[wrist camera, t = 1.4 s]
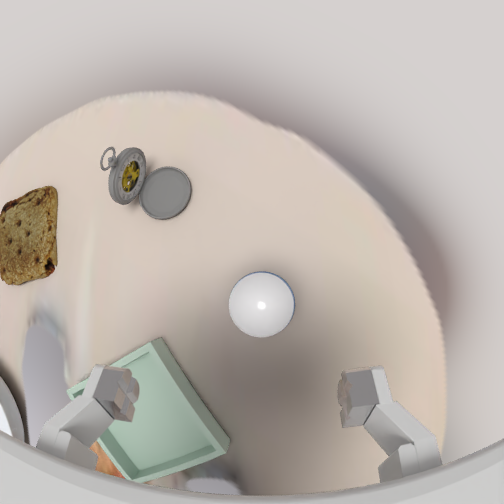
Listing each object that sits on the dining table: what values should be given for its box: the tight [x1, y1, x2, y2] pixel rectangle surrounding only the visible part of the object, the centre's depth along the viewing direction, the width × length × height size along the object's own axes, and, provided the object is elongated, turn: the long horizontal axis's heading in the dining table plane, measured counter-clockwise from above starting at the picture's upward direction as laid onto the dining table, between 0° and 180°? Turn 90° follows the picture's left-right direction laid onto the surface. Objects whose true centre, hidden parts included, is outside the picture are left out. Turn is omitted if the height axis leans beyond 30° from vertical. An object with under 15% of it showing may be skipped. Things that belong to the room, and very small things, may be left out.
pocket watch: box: [100, 147, 191, 219], centre depth 31 cm, size 8×8×10 cm
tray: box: [66, 337, 230, 483], centre depth 30 cm, size 15×15×4 cm
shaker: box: [229, 272, 295, 337], centre depth 27 cm, size 5×5×12 cm
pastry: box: [0, 186, 58, 285], centre depth 35 cm, size 17×17×3 cm
